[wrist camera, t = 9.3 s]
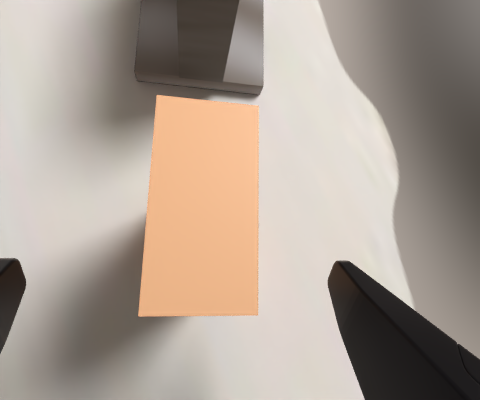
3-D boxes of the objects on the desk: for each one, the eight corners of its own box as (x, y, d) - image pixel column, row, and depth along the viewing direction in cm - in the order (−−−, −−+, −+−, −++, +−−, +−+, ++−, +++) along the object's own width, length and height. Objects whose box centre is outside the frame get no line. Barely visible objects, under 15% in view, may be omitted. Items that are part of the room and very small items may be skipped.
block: (213, 285, 17) (257, 315, 7) (167, 285, 17) (137, 316, 6) (216, 199, 18) (258, 105, 8) (173, 196, 18) (156, 94, 7)
